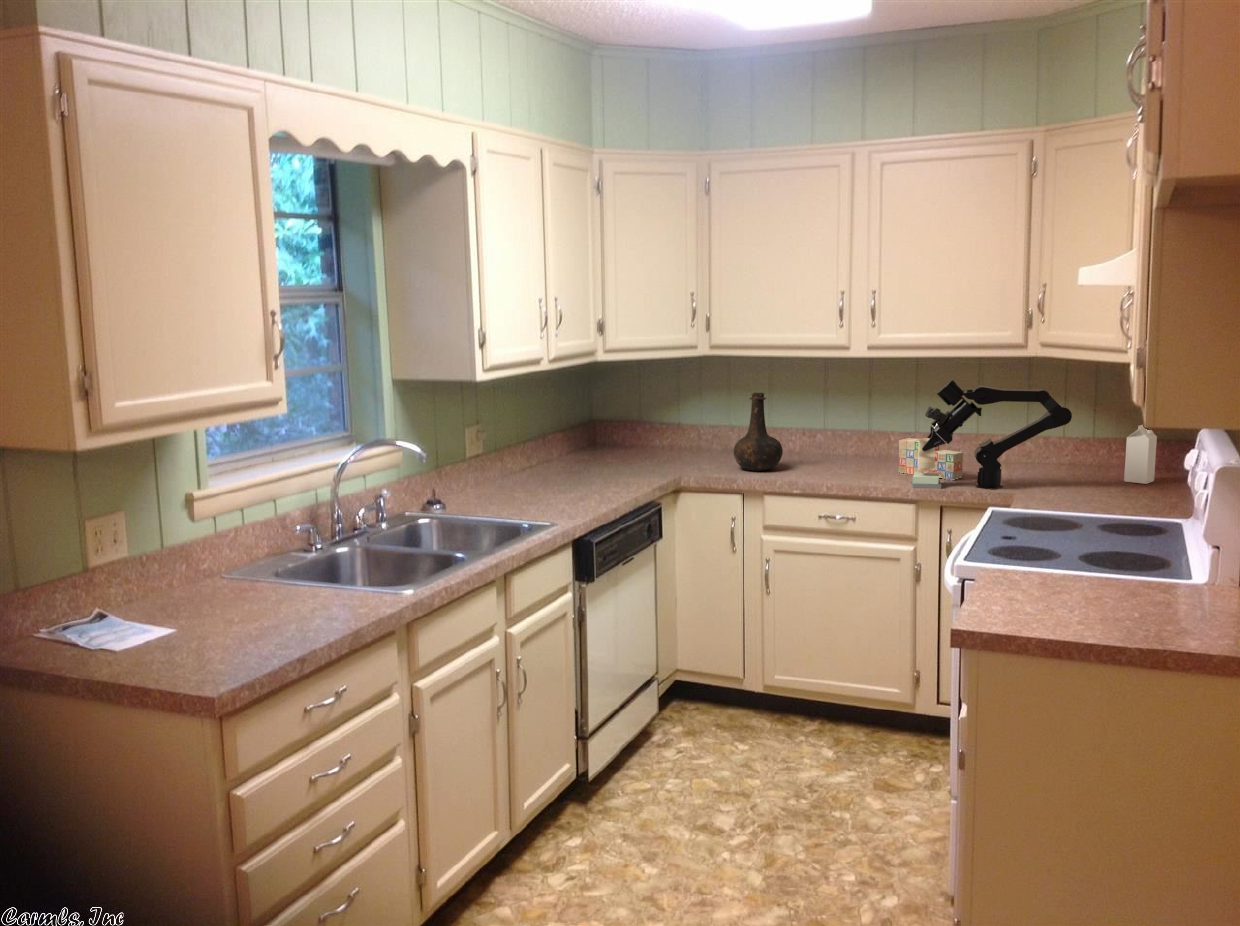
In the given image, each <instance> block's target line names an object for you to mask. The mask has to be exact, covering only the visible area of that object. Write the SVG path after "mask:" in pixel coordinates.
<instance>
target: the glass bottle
mask: <svg viewBox="0 0 1240 926" xmlns="http://www.w3.org/2000/svg"><path fill="white" fill-rule="evenodd" d="M766 399H767V398H766V397H765V392H751V397H750V398H749V400H751V405H750V406H751V409H750V419H749V425H748V429H747V433H746V434H745V435H744V436H743V437H742V438H740V439H739V440H738V441H737V442H736V443H735V445H734V448H733V456H734V460H735V461H736V463H737V464H738V465H739V466H740V467H741V468H743V469H744V470H747V471H750V470H751V472H763V471H764V472H765V471H769V470H771V469H774V468H775V467H776V466H777V465H778V464H779V463H780V461H781V460H782V456H783V452H784V450H783V446H782V444H781V442H780V441H779V440H778V439H776V438H775V437H773V436H770V435H769V433H768V432H767V428H766V419H765V418H766V417H765V402H764V401H765V400H766Z"/></svg>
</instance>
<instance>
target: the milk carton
mask: <svg viewBox="0 0 1240 926" xmlns="http://www.w3.org/2000/svg"><path fill="white" fill-rule="evenodd" d="M1157 439H1158V436H1157V435H1156V434H1155V433H1154V431H1153V430H1152V429H1151V430H1147V429H1145V428H1144V427H1143V424H1141V425H1138V427H1137V429H1136V430H1135V431H1134V432H1132V433H1130V434H1129V435H1127V437H1126V445H1125V446H1126V447H1125V459H1124V461H1125V462H1124V477H1123V482H1126V483H1137V484H1142V485H1143V484H1144V485H1145V484H1146V485H1147V484H1149V483H1153V482H1155V472H1156V470H1155V469H1156V458H1157V457H1156V454H1157V441H1158V440H1157Z"/></svg>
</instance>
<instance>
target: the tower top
mask: <svg viewBox="0 0 1240 926" xmlns="http://www.w3.org/2000/svg"><path fill="white" fill-rule="evenodd" d="M912 479H913V483H918V484H938V482H939V480H940V479H939V473H916V472H914V475H913V476H912Z"/></svg>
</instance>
